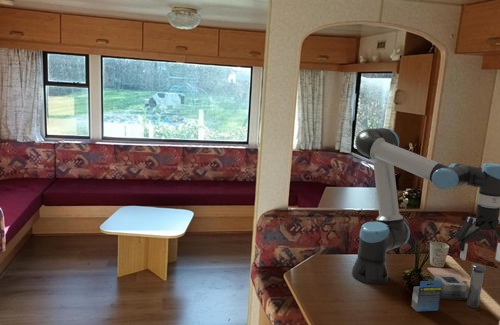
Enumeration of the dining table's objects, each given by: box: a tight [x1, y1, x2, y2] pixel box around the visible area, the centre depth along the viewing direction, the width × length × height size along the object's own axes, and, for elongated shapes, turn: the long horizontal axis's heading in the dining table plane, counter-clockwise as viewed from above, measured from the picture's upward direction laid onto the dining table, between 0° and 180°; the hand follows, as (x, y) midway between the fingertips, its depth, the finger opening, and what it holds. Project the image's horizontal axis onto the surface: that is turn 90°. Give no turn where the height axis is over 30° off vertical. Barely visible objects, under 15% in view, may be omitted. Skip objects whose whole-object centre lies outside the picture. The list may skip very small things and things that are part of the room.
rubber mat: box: [427, 267, 467, 283], centre depth 184 cm, size 12×12×1 cm
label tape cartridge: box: [410, 280, 442, 312], centre depth 153 cm, size 9×4×12 cm, turn 99°
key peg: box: [466, 263, 487, 309], centre depth 157 cm, size 5×5×16 cm
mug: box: [429, 241, 450, 268], centre depth 196 cm, size 8×13×10 cm, turn 145°
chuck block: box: [431, 274, 469, 301], centre depth 169 cm, size 14×14×5 cm
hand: (480, 259), depth 155 cm, fingers open, 13 cm apart
